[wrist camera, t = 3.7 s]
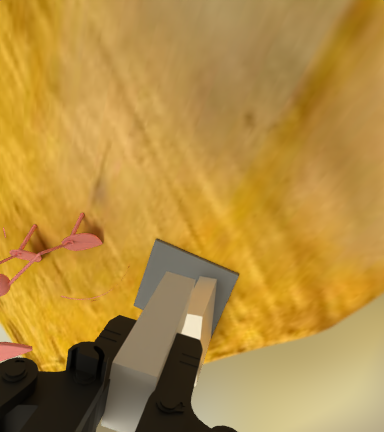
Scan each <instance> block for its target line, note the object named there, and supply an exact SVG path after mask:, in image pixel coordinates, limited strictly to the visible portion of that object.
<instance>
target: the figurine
mask: <svg viewBox="0 0 384 432" xmlns="http://www.w3.org/2000/svg"><path fill="white" fill-rule="evenodd" d="M83 216H84V214H83V213H81V214H80V216H79V218H78V220H77V222H76V224H75V227H74V229H73V231H72V233H71V235H70V236H68V237H66V238H65V239H64V241H62V245H59V246H56V247H53V248H50V249H47V250H44V251H41V252H40V253H38V254H36V253H32V252H29V251H24V250H23V249H24V247H25V245H26V244H27V242H28V240H29V238H30V237H31V235H32V233H33V232H34V230H35V228H36V227H37V226H36V225H33V226H32V228H31V230H30V231H29V233H28V235H27V236H26V238H25V240H24V241H23V243H22V244H21V246H20V248H19V249H18V250H11V251H10V254H11V255H12V256H11V257H9V258H6V259H4V260H2V261H0V264H1V263H4V262H6V261H8V260H10V259H12V258H14V257H17V258H20V259H24V260H29V261H30V262H29V263H28V264H27V265H26V266H25V267H24V268H23V269H22V270H21V271H20V272H19V273H18V274H17V275H16V276H15V277H14V278H13V279H12V280H11V281H10V280H9V278H8V277H7V276H5V275H3V274H0V296H3V295H5V294H6V293H7V292H8V291H9V289H10V285H11V284H12V283H13V282H14V281H15V280H16V279H17V278H18V277H19V276H20V275H21V274H22V273H23V272H24V271H25V270H26V269H27V268H28V267H29V266H30V265H31V264H32V263H33V262H34V261H35V262H39V261H41V259H42V257H41V256H40V255H42V254H45V253H48V252H50V251H53V250H56V249H59V248H61V247H64V248H67V249H69V250H74V251H79V250H86V249H89V248H92V247H95V246H98V245H101V244H102V242H101V240H100V239H99V238H98V237H97V236H96V235H93V234H91V233H80V234H76V231H77V229H78V227H79V225H80V223H81V221H82V218H83ZM3 230H4V227H3ZM4 235H5V231H4ZM5 238H6V236H5ZM128 268H129V267H128ZM124 276H125V275H124ZM122 279H123V278H122ZM117 285H118V284H117ZM117 285H116V286H117ZM107 293H108V292H107ZM105 294H106V293H105ZM103 295H104V294H103ZM61 297H63V296H61ZM98 297H99V296H98ZM65 298H67V297H65ZM94 298H96V297H94ZM69 299H73V298H69ZM90 299H91V298H90ZM78 300H82V299H78ZM99 300H100V299H99ZM94 301H95V300H94ZM31 350H32V346H28V345H23V344H16V343H10V342H0V361H3V360H6V359H9V358H12V357H15V356H18V355H21V354H24V353H26V352H29V351H31Z"/></svg>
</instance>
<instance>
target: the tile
mask: <svg viewBox="0 0 384 432" xmlns="http://www.w3.org/2000/svg"><path fill="white" fill-rule="evenodd" d="M216 285H217V279H214V278H208V277H203V276H200V277H199V279H198V281H197V283H196V285H195V287H194V289H193V293H192V296H191V300H190V304H189V308H188V312H187V316H186V320H185V324H184V327H183V330H182V333H181V334H183V335H187V336H190V337H193V338H196V339H199V340H200V341H201V345H202V348H203V352H202V356H201V360H200V364H199V368H198V372H197V376H196V380H195V384H194V386H196V384H197V381H198V378H199V374H200V371H201V368H202V365H203V362H204V359H205V355H206V352H207V349H208V346H209V343H210V339H211V332H212V323H213V313H214V304H215V294H216Z"/></svg>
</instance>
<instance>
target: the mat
mask: <svg viewBox="0 0 384 432" xmlns="http://www.w3.org/2000/svg"><path fill="white" fill-rule="evenodd" d="M166 271H168V272H171V273H174V274H178V275H181V276H185V277H188V278H191V279H195V280H196V281H195V285H196V283H197V281H198V279H199V277H200V276H203V277H208V278H214V279H217V285H216V294H215V304H214V313H213V323H212V332H211V337H212V335H213V332H214V330H215V328H216V326H217V323H218V321H219V319H220V316H221V314H222V312H223V310H224V307H225V305H226V303H227V301H228V298H229V296H230V294H231V292H232V289H233V287H234V285H235V283H236V280H237V278H238V276H239V274H238V273H236V272H233V271H231V270H229V269H226V268H224V267H222V266H219V265H217V264H215V263H213V262H210V261H208V260H206V259H203V258H201V257H199V256H196V255H194V254H192V253H189V252H187V251H185V250H182V249H180V248H178V247H175V246H173V245H171V244H168V243H166V242H164V241H161V240H159V239H156V240H155V243H154V246H153V249H152V252H151V255H150V258H149V261H148V264H147V267H146V270H145V273H144V276H143V279H142V282H141V285H140V288H139V291H138V294H137V297H136V300H135V303H134V306H136V307H138V308H140V309H142V310H144V308H145V307H146V305H147V303H148V302H149V300H150V298H151V297H152V295H153V293H154V292H155V290H156V288H157V287H158V285H159V283H160V282H161V280H162V278H163V277H164V275H165V273H166ZM195 285H194V287H195Z"/></svg>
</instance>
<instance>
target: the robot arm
mask: <svg viewBox="0 0 384 432" xmlns="http://www.w3.org/2000/svg"><path fill="white" fill-rule="evenodd" d="M195 281H196V280H195V279H191V278H188V277H185V276H181V275H178V274H174V273H171V272H168V271H166V273H165V275H164V277H163V278H162V280H161V282H160V283H159V285H158V287H157V288H156V290H155V292H154V293H153V295H152V297H151V298H150V300H149V302H148V303H147V305H146V307H145V308H144V310H143V312H142V313H141V315H140V317H139V318H138V320H134V319H130V318H127V317H124V316H121V315H119V316H117V317H115V318H113V319H112V320H110V321H109V322H108V324H107V325H106V326H105V328H104V330H103V331H102V332H101V333H100V335H99V337H97V339H96V340H95V342H90V341H89V342H80V343H78V344H75V345H73V346H72V347H71V348H70V349H69V350H68V357H67V365H66V370H65V371H61V372H43V371H38V367H37V365H36V364H35V363H34V362H33V361H32V360H30V359H27V358H18V357H17V358H12V359H8V360H6V361H4V362H2V363H0V432H96V427H97V425H98V424H99V422H100V420H101V418H102V423H101V425H102V426H105V427H107V428H110V429H113V430H115V431H118V432H237V431H236V430H234V429H233V428H230V427H227V426H215V427H213V428H212V429H211V428H209V427H208V426H207V425H205V424H204V423H203V422H202V421H200V420H199V419H198V418H197V416H196V415H195V414H194V412H193V409H192V406H191V396H192V392H193V388H194V384H195V380H196V376H197V372H198V368H199V364H200V360H201V356H202V352H203V348H202V345H201V341H200V340H199V339H196V338H193V337H190V336H187V335H183V334H181V333H182V330H183V327H184V324H185V320H186V316H187V312H188V308H189V304H190V300H191V296H192V293H193V289H194V285H195ZM102 416H103V417H102Z"/></svg>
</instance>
